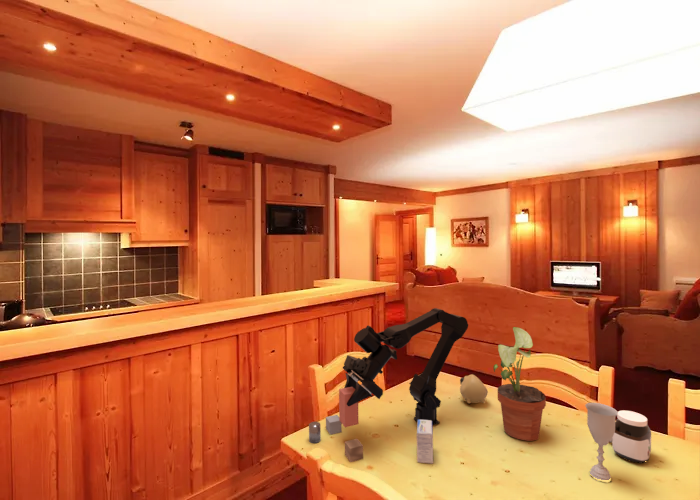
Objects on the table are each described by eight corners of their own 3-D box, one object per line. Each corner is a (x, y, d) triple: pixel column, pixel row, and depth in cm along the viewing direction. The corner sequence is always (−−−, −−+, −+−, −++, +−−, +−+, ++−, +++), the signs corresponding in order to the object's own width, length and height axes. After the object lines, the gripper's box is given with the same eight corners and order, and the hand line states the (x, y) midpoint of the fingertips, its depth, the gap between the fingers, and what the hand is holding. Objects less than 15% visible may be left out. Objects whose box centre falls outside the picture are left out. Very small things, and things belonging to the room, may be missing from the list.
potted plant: (489, 419, 126) (489, 318, 125) (537, 423, 123) (538, 320, 122) (498, 444, 111) (498, 330, 110) (553, 450, 108) (554, 332, 106)
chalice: (578, 468, 99) (578, 403, 98) (601, 467, 100) (602, 401, 99) (598, 486, 92) (599, 416, 91) (624, 485, 92) (625, 414, 92)
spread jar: (640, 469, 99) (640, 426, 98) (594, 448, 108) (594, 410, 108) (657, 454, 105) (658, 414, 105) (613, 436, 115) (613, 400, 114)
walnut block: (357, 451, 108) (357, 438, 108) (363, 459, 104) (362, 445, 104) (344, 455, 107) (344, 441, 106) (350, 462, 103) (350, 448, 103)
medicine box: (433, 464, 102) (433, 433, 101) (416, 462, 102) (416, 432, 102) (432, 448, 109) (432, 420, 109) (417, 446, 110) (417, 418, 110)
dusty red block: (352, 417, 116) (352, 386, 116) (358, 424, 112) (358, 392, 112) (339, 420, 115) (339, 389, 114) (345, 427, 110) (344, 394, 110)
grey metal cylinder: (318, 436, 117) (318, 420, 117) (322, 441, 113) (322, 425, 113) (307, 438, 115) (307, 423, 115) (311, 444, 112) (310, 428, 112)
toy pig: (481, 395, 146) (481, 368, 145) (491, 409, 134) (491, 380, 133) (456, 394, 146) (456, 368, 146) (463, 408, 134) (463, 380, 134)
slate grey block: (337, 426, 123) (337, 414, 123) (341, 432, 119) (341, 420, 119) (325, 429, 121) (325, 417, 121) (330, 434, 118) (329, 422, 117)
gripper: (347, 338, 123) (316, 376, 119) (373, 354, 106) (338, 399, 102) (368, 358, 126) (339, 396, 122) (397, 377, 109) (364, 421, 105)
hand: (344, 402), depth 113 cm, fingers closed on dusty red block, 4 cm apart
